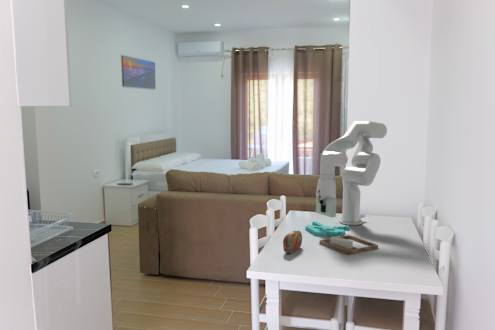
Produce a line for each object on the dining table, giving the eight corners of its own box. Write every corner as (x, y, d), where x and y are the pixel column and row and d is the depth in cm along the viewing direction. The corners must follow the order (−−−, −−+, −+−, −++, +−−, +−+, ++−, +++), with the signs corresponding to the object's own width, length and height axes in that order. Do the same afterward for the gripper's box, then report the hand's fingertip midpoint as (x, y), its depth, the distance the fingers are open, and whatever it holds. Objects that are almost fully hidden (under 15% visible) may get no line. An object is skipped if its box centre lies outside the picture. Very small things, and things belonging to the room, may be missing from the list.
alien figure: (313, 224, 241) (300, 234, 223) (313, 221, 240) (301, 229, 223) (349, 229, 232) (338, 239, 214) (349, 225, 231) (339, 235, 214)
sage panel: (320, 211, 232) (320, 195, 231) (335, 216, 221) (336, 199, 220) (315, 212, 230) (316, 195, 229) (331, 217, 220) (332, 200, 219)
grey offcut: (333, 241, 205) (333, 236, 204) (352, 246, 198) (352, 240, 198) (330, 242, 202) (330, 237, 202) (349, 247, 196) (349, 242, 195)
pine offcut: (334, 244, 207) (334, 240, 206) (352, 251, 197) (352, 247, 196) (329, 245, 205) (329, 241, 205) (347, 252, 195) (347, 248, 195)
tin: (288, 255, 189) (288, 237, 188) (281, 254, 191) (281, 236, 189) (302, 246, 202) (302, 229, 200) (296, 245, 203) (296, 228, 202)
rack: (348, 237, 216) (348, 234, 216) (377, 248, 200) (378, 244, 200) (319, 243, 206) (319, 240, 206) (347, 255, 190) (347, 251, 190)
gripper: (333, 175, 231) (332, 208, 233) (310, 176, 222) (308, 211, 225) (343, 176, 224) (342, 211, 227) (319, 179, 216) (318, 215, 218)
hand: (325, 211), depth 226 cm, fingers closed on sage panel, 3 cm apart
